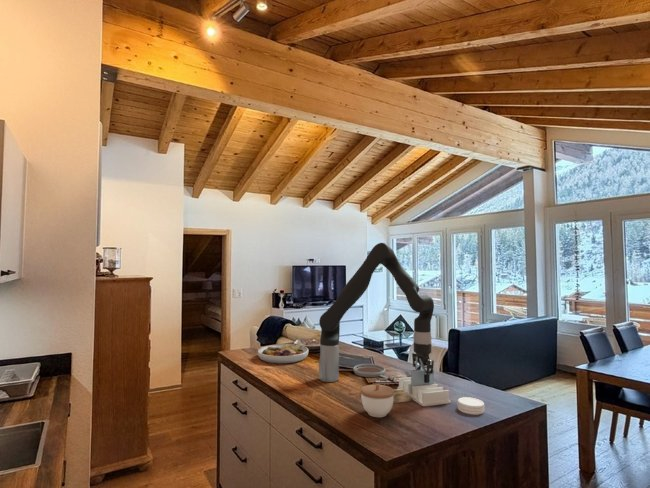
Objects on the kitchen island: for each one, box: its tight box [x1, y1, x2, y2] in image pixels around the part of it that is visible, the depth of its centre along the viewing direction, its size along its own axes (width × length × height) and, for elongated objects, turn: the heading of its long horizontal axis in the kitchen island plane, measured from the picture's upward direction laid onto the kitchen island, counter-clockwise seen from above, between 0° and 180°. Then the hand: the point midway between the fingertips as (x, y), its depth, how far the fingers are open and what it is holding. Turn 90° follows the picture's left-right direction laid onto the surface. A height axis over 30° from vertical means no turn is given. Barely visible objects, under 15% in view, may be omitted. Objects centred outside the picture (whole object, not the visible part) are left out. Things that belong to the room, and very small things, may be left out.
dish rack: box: [397, 376, 452, 407], centre depth 168 cm, size 13×22×5 cm, turn 17°
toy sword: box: [352, 363, 397, 383], centre depth 197 cm, size 17×3×28 cm
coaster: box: [456, 396, 485, 416], centre depth 153 cm, size 10×10×4 cm
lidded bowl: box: [360, 383, 395, 418], centre depth 149 cm, size 13×13×11 cm
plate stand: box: [393, 388, 412, 404], centre depth 164 cm, size 12×8×3 cm, turn 107°
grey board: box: [410, 368, 435, 394], centre depth 168 cm, size 10×2×10 cm, turn 107°
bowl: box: [257, 343, 309, 365], centre depth 231 cm, size 30×30×8 cm
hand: (422, 380), depth 168 cm, fingers open, 6 cm apart
